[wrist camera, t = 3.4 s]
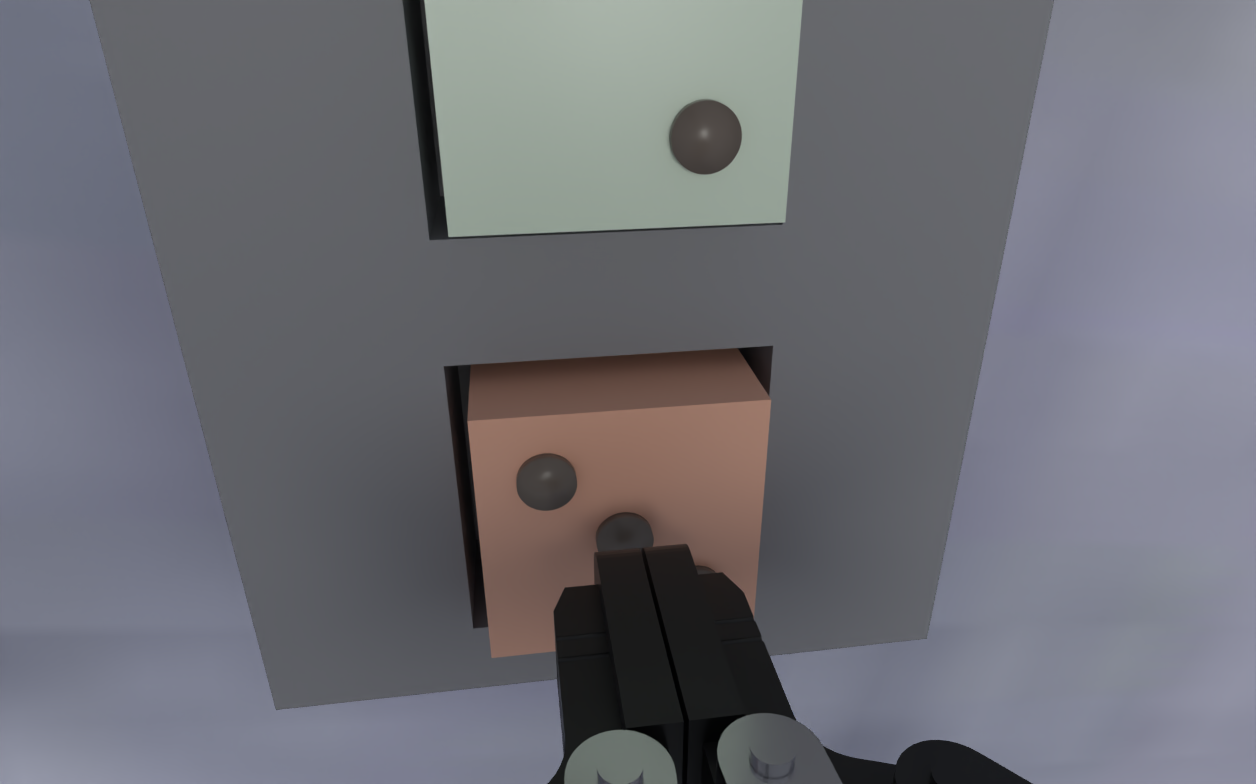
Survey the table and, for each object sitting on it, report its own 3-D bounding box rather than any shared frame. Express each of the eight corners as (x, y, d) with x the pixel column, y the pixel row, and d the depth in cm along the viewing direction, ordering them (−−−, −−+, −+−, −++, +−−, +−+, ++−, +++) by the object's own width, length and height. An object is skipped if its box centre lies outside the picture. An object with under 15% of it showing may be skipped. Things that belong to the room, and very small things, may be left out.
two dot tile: (422, -152, 12) (404, -183, 10) (760, -148, 13) (822, -176, 10) (455, 196, 14) (447, 240, 12) (742, 185, 15) (789, 226, 13)
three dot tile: (470, 358, 16) (466, 427, 13) (733, 341, 16) (774, 404, 14) (491, 573, 18) (491, 666, 15) (721, 551, 18) (755, 637, 16)
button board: (-63, -1165, 10) (-394, -1840, 6) (1074, -995, 11) (1341, -1441, 8) (313, 583, 21) (276, 709, 17) (858, 533, 22) (926, 638, 19)
